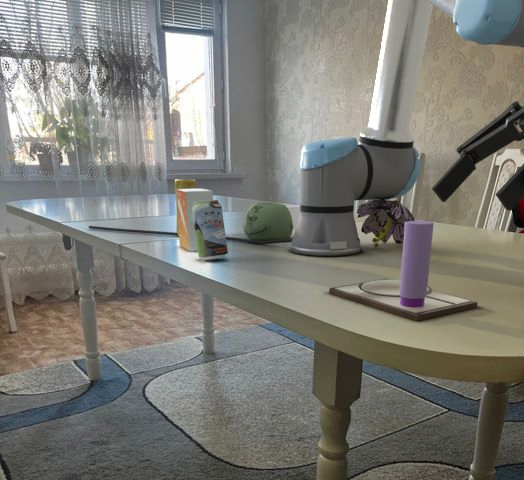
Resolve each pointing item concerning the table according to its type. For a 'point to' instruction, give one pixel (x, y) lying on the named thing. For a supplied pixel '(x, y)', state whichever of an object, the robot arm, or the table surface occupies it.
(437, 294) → the board
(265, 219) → the green rounded lump
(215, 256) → the green printed package
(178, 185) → the vase
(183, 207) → the small box
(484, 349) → the table surface
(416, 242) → the cylinder
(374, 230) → the decorative flower
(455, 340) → the table surface
